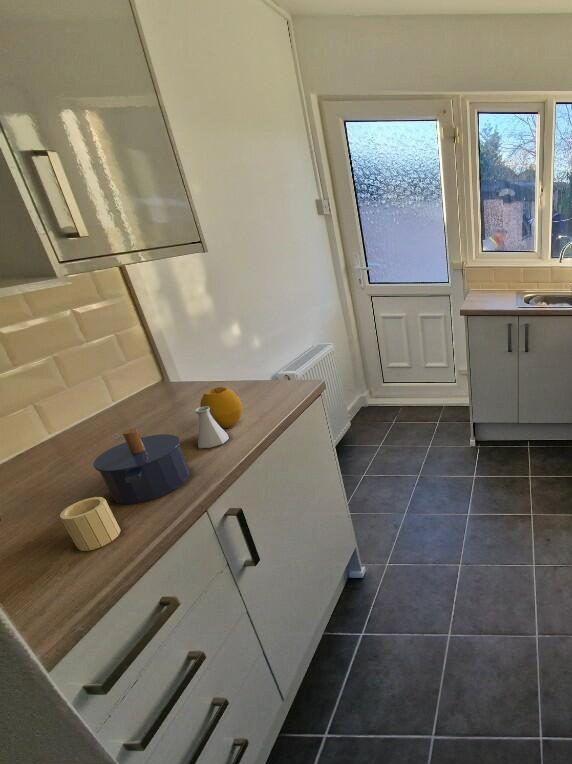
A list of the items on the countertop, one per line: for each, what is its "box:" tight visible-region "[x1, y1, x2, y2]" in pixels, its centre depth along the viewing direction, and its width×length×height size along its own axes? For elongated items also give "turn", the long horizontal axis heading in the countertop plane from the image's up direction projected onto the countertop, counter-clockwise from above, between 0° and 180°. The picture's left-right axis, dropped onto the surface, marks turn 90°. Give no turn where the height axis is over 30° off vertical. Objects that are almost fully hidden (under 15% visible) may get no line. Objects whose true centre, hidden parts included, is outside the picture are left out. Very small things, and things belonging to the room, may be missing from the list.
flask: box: [194, 406, 230, 449], centre depth 109 cm, size 7×7×10 cm
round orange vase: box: [199, 386, 243, 429], centre depth 118 cm, size 10×10×12 cm
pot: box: [99, 444, 190, 505], centre depth 93 cm, size 14×19×8 cm
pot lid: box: [93, 428, 181, 473], centre depth 90 cm, size 15×15×6 cm
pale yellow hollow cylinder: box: [59, 496, 121, 552], centre depth 77 cm, size 6×6×8 cm
